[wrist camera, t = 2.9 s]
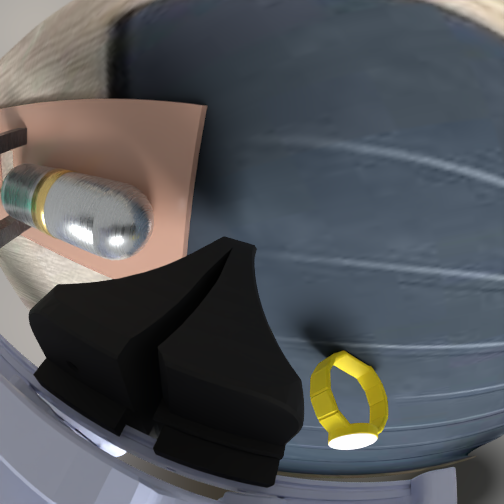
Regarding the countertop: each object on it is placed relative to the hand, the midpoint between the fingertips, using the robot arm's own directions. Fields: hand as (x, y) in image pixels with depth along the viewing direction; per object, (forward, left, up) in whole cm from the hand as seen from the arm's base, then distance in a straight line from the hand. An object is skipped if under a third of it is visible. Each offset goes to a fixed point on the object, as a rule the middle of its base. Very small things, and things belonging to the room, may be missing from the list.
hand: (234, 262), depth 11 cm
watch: (-11, -1, -3) cm, 11 cm away
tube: (+7, +7, -2) cm, 10 cm away
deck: (+11, +11, -3) cm, 16 cm away
